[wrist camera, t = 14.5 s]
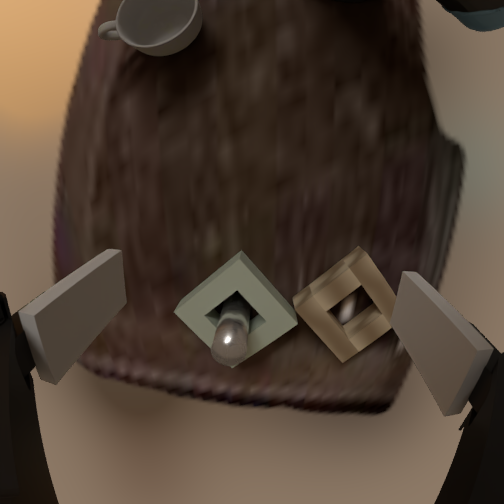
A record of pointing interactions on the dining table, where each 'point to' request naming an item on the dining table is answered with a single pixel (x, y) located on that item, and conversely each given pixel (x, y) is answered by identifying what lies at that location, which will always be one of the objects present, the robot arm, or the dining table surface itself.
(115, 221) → the dining table surface
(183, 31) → the teacup
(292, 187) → the dining table surface
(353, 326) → the block
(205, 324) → the socket block
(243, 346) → the lock pin
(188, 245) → the dining table surface
